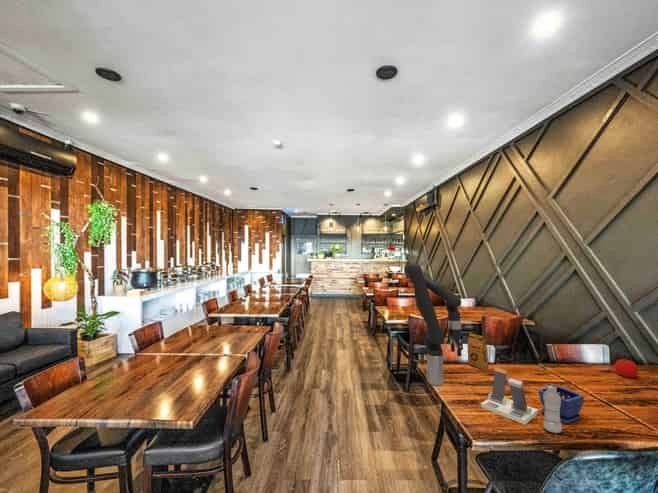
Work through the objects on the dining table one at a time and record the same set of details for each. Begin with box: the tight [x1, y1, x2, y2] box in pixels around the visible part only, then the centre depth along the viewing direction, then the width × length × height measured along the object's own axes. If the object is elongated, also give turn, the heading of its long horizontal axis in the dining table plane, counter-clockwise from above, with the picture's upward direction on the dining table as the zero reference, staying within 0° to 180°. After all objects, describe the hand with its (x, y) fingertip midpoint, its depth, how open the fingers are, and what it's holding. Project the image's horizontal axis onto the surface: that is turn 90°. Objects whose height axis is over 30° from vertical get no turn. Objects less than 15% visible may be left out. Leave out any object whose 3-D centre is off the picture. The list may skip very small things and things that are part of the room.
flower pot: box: [538, 385, 585, 425], centre depth 142 cm, size 13×13×12 cm
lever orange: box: [491, 366, 509, 403], centre depth 155 cm, size 2×5×16 cm, turn 36°
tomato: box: [614, 358, 639, 379], centre depth 189 cm, size 10×11×11 cm
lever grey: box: [507, 377, 528, 412], centre depth 143 cm, size 2×5×16 cm, turn 37°
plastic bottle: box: [543, 383, 563, 434], centre depth 131 cm, size 6×7×20 cm
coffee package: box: [466, 333, 489, 370], centre depth 208 cm, size 10×12×22 cm
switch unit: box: [480, 392, 539, 426], centre depth 148 cm, size 16×20×5 cm
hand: (456, 353), depth 183 cm, fingers open, 8 cm apart
